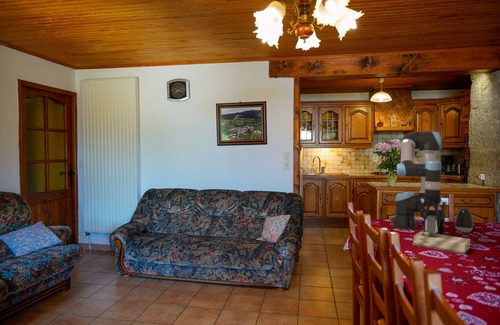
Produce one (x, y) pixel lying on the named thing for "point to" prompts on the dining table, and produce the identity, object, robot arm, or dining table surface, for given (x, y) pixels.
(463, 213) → the dark grey egg shape
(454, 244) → the keyhole plate
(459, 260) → the dining table surface
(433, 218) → the metal peg
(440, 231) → the coffee jar
